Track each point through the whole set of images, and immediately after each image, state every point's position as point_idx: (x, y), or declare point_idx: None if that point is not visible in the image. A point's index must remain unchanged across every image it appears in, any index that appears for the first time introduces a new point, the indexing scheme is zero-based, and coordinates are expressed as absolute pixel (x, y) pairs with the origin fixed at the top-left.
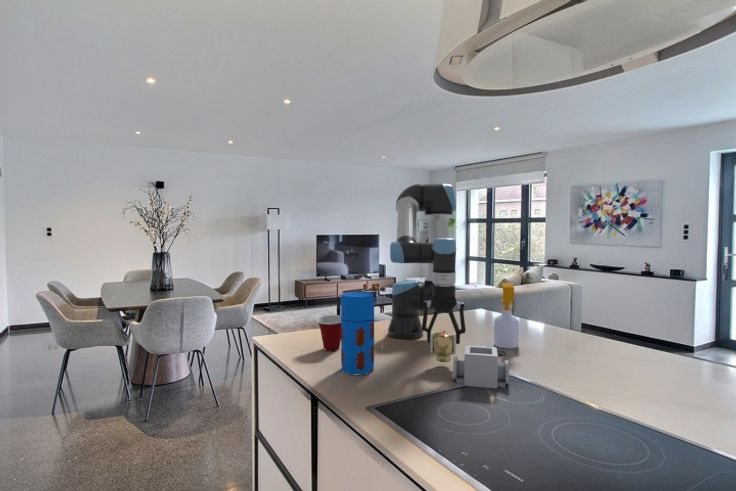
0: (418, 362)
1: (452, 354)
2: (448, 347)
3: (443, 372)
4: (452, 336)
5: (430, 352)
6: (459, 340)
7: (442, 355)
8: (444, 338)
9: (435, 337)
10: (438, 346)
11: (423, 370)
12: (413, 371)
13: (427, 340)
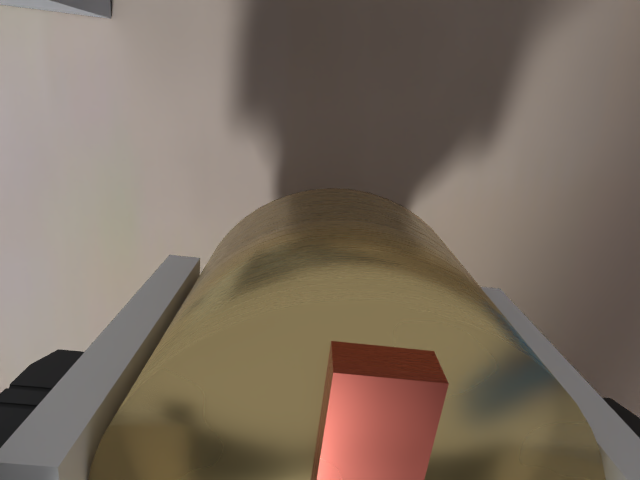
0: (541, 320)
1: (214, 251)
2: (254, 240)
3: (332, 69)
4: (117, 442)
5: (498, 290)
6: (7, 394)
7: (349, 190)
8: (335, 295)
9: (556, 382)
10: (433, 247)
11: (529, 105)
12: (637, 59)
13: (631, 418)
